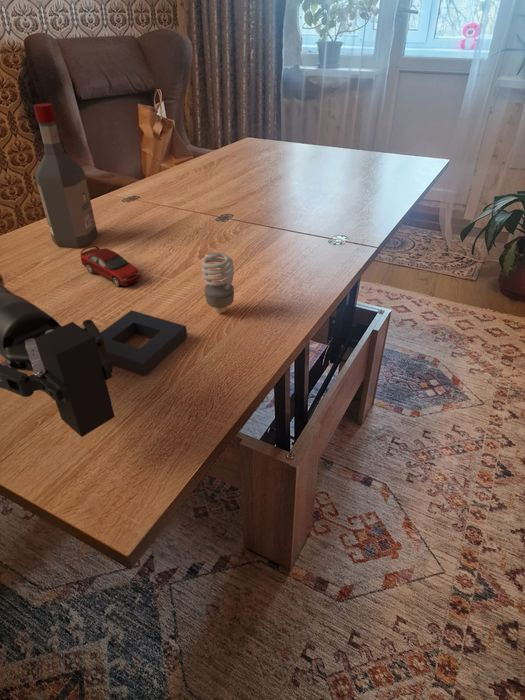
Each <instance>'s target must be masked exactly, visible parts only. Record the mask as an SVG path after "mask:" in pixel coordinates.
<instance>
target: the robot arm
mask: <svg viewBox="0 0 525 700" xmlns="http://www.w3.org/2000/svg"><path fill="white" fill-rule="evenodd" d="M5 283H6V282H5V279H4V277H3V275H2V274H1V273H0V356H1V357H3V358H4V361H2V362H0V388H1V389H3V390H7V391H9V392H11V393H13V394H16V395H19V396H20V397H24V398H28V397H29V398H30V397H31V396H33V395H34V393H35V392H36V391H41V392H42V393H43V392H44V393H45V394H46V395H48V396H49V397H50V398H51V399H52V400H53V401H55V402H56V401H58V402H59V401H61V400H62V401H63V402H64V403H66V402H68V401H70V400H71V396H70V392H69V389H68V387H67V386H66V384H64V383H63V382H62V381H60V380H59V379H58V378H57V377H55V376H54V375H53V374H52V373H50V372H49V373H47V372H46V369H45V367H44V366H43V363H42V360H41V357H40V354H39V351H38V348H37V345H36V342H35V338H37V337H40V336H42V335H44V334H46V333H49V332H51V331H53V330H55V329H58V328H60V327H62V326H63V325H61V324H60V323H59V322H58V321H57V320H56V319H55V318H54V317H52V315H50V314H49V313H47V312H46V311H44V310H43V309H41V308H39V307H38V306H37V305H35V304H34V303H32V302H31V301H29V300H28V299H26V298H24V297H22V296H19V295H17V294H16V293H14V292H13V291H12V290H10V289H9V288H7V287H6V284H5ZM80 327H81V328H82V329H84V330H85V331H87V332H88V333H90V334H91V335H93V336H94V337H95V339H96V343H97V347H98V351H99V355H100V359H101V363H102V368H103V372H104V376H105V380H106V381H108V380H110V379H113V374H112V373H114V371H113V365H111V362H110V360H109V359H107V358H106V357H107V356H108V353H107V350H106V346H105V340H104V337H103V336H102V334H101V331H100V330H99V329H98V327H97V325H96V324H95V323H94V320H92V319H85V320H83V321H82V326H80ZM23 371H25V372H23ZM26 372H33V374H30V375H28V374H27V373H26Z"/></svg>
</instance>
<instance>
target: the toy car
mask: <svg viewBox="0 0 525 700" xmlns="http://www.w3.org/2000/svg"><path fill="white" fill-rule="evenodd" d="M91 248H92V249H91ZM88 249H89V250H88ZM85 250H86V251H85ZM80 261H81V264H82V266H84V267H85V268H86V269H87V271H88V273H89V274H94V273H95V274H97V275H100V276H102V277H104V278H105V279H106V280H109V281H112V282H113V284H114V286H115V287H117V288H118V287H120V286H122V287H125V286H128V285H131V284H133V283H135V282H137V281H139V280H141V279H142V275H141V274H142V273H141V272H140V271H139V269H138V268H137V267H136V266H134V265H133V264H131V263H130V262H129V261H128V260H127V259H125V258H124V257H123V256H121V255H120V254H119V253H117V252H115V251H114V250H111V249H110V248H105V247H104V248H99V247H98V246H97V245H90V246H86V247H84V248H82V249H81V251H80Z"/></svg>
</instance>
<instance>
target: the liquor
mask: <svg viewBox="0 0 525 700" xmlns="http://www.w3.org/2000/svg"><path fill="white" fill-rule="evenodd" d="M33 110H34V115H35V118H36V122H37V123H38V127H39V130H40V135H41V139H42V144H43V148H44V149H43V152H44V155H43V157H42V158H41V161H39V164H38V166H37V168H36V169H35V171H34V179H35V183H36V186H37V189H38V193H39V197H40V201H41V205H42V207H43V213H44V214H45V218H46V222H47V226H48V229H49V233H50V236H51V237H50V238H51V240H52V242H53V243H54V244H55V245H56V246H57V247H58V248H65V249H66V248H67V249H68V248H69V249H79V248H80V249H81V248H86V247H89V245H91V244H92V243H93V242H94V241H95V240H96V239H97V237H98V234H99V233H98V229H97V224H96V220H95V215H94V211H93V206H92V200H91V197H90V192H89V188H88V184H87V183H88V182H87V179H86V174H85V171H84V169H83V167H82V166H81V165H80V164H79V163H78V162H76V161H75V160H74V159H73V158H72V157H71V156H70V155H68V154H67V153H66V152H65V149H64V148H63V146H62V143H61V138H60V135H59V131H58V127H57V123H56V121H57V119H56V115H55V112H54V107H53V104H52V103H46V102H45V103H37V104H33Z"/></svg>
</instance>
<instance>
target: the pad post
mask: <svg viewBox="0 0 525 700" xmlns="http://www.w3.org/2000/svg"><path fill="white" fill-rule="evenodd" d="M61 326H62V327H60V328H58V329H55V330H53V331H51V332H49V333H46V334H44V335H42V336H40V337H37V338H35V342H36V345H37V348H38V351H39V354H40V357H41V360H42V363H43V366H44V367H45V369H46V372H47V373H49V372H50V373H52V374H53V375H54V376H55V377H57V378H58V379H59V380H60V381H62V382H63V383H64V384H66V386H67V387H68V389H69V392H70V396H71V400H70V401H68V402H66V403H64V402H63V401H62V400H61V401H59V402H58V401H55V405H56V407H57V410H58V413H59V415H60V419H61V420H62V421H63V422H64V423H65V424H66V425H68V426H69V427H70V428H71V429H72V430H73V431H74V432H76V434H78V435H79V436H80V437H81V438H83V437H85V436H86V435H88V434H90V433H91V432H92V431H94V430H96V429H97V428H99V427H101V426H103V425H104V424H106V423H107V422H109V421H111V420H113V419H114V418H115V417H116V416H115V412H114V408H113V403H112V400H111V396H110V395H111V394H110V392H109V387H108V383H107V380H105V376H104V372H103V368H102V363H101V359H100V355H99V351H98V347H97V343H96V339H95V337H94V336H93V335H91V334H90V333H88V332H87V331H85V330H84V329H82V328H81V327H82V326H80V325H78V324H76V323H75V322H74V321H71V322H69V323H67V324H64V325H61Z"/></svg>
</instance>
